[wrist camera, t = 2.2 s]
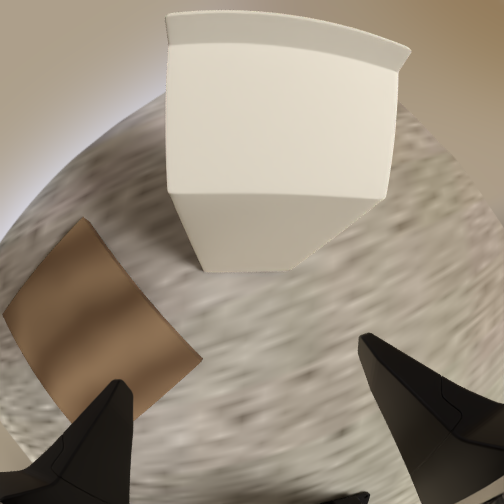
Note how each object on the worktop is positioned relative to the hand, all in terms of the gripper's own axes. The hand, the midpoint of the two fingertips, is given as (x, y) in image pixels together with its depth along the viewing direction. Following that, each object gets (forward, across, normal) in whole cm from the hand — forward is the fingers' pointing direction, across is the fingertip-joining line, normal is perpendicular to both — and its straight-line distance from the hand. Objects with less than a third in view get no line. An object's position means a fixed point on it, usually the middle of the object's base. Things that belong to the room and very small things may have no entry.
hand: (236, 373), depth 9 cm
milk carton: (+16, -1, +1) cm, 16 cm away
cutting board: (+10, +14, +5) cm, 18 cm away
